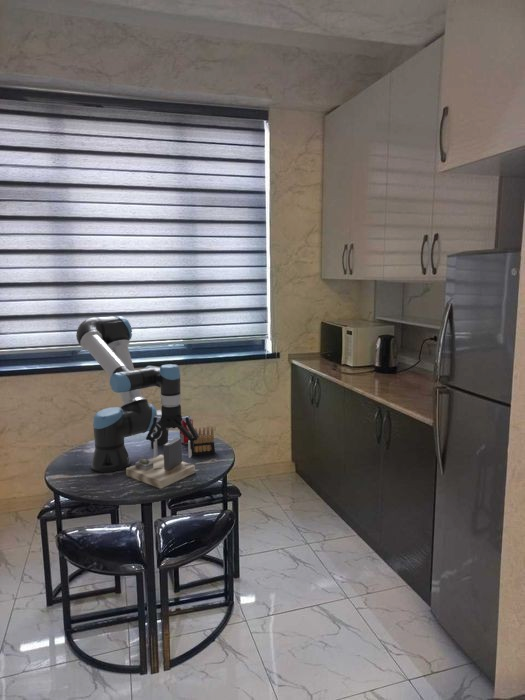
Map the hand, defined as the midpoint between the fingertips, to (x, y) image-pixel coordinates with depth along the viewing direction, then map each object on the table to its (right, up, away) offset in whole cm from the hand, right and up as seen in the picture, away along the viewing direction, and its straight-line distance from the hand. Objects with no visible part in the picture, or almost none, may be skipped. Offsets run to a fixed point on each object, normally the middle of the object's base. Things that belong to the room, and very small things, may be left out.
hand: (172, 456), depth 188 cm
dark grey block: (0, -4, +1) cm, 4 cm away
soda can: (-1, -2, +37) cm, 37 cm away
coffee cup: (-13, -2, +36) cm, 38 cm away
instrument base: (-5, -7, +1) cm, 9 cm away
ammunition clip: (+9, -4, +23) cm, 25 cm away
